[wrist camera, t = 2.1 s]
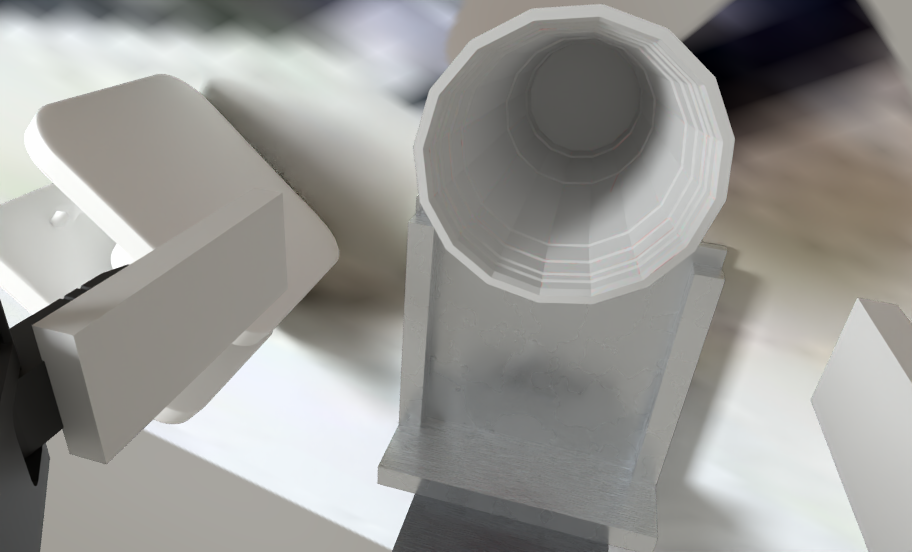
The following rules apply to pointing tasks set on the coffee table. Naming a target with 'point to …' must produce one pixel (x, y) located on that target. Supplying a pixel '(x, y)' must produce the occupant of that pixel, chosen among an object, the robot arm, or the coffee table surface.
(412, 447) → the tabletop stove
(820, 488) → the coffee table surface
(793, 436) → the coffee table surface
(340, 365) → the coffee table surface
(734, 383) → the coffee table surface
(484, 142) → the plastic cup
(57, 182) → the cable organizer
